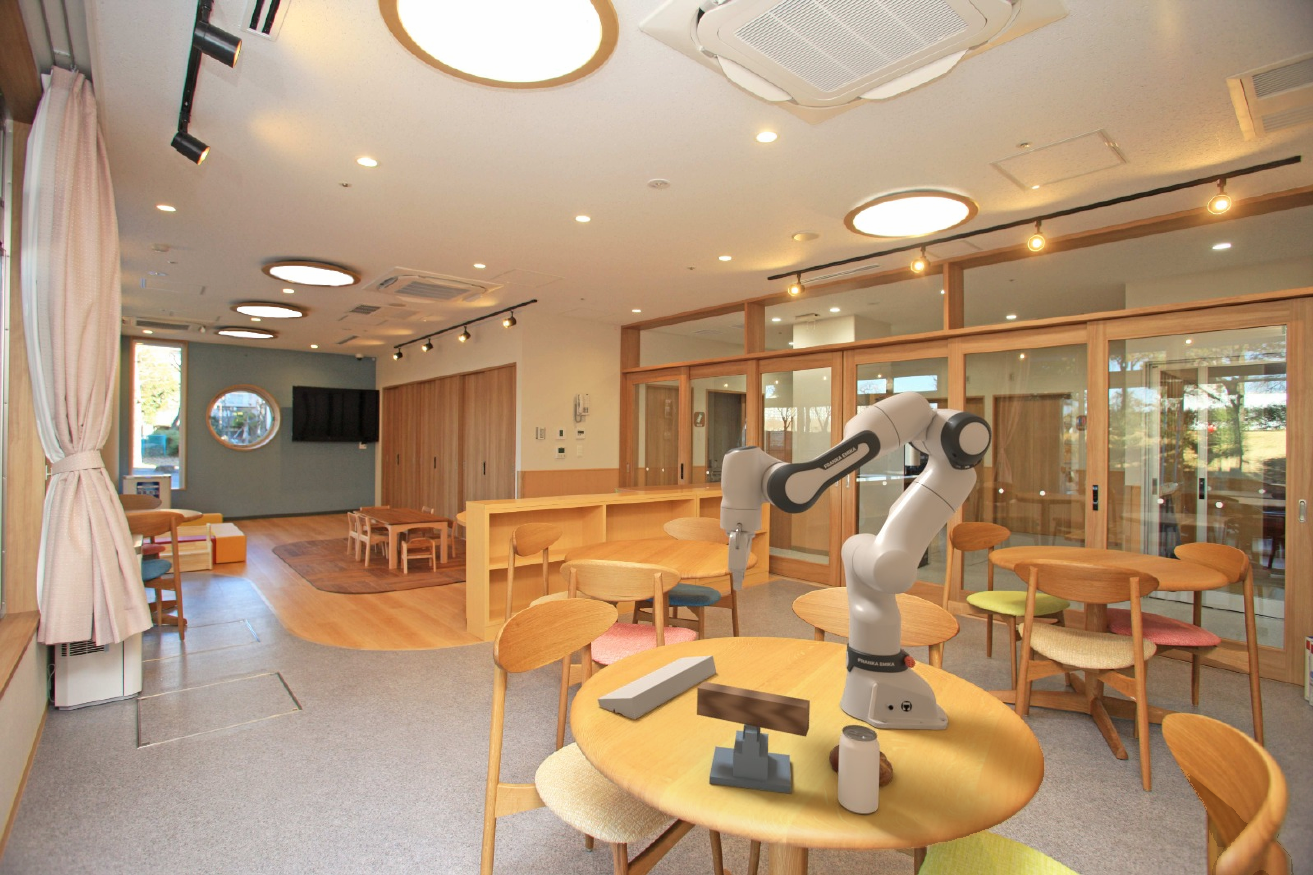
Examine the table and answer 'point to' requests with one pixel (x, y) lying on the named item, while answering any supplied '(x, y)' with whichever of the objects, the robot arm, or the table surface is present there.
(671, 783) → the table surface
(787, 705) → the walnut bar
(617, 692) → the beige long block
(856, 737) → the can
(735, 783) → the gray stepped block
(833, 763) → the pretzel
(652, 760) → the table surface
